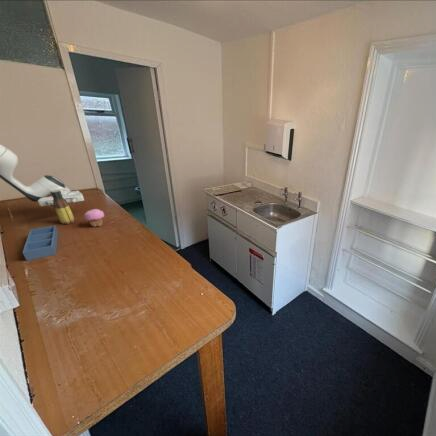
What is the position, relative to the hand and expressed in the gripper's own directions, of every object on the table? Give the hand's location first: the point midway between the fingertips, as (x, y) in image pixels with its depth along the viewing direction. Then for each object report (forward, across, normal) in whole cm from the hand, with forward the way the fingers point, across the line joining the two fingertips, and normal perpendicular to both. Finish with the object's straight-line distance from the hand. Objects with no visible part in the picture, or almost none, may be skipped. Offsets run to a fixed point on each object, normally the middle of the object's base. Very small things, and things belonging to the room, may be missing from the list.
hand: (61, 203), depth 137 cm
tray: (+33, -8, +11) cm, 35 cm away
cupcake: (+20, +13, +11) cm, 26 cm away
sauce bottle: (+6, 0, +11) cm, 12 cm away
